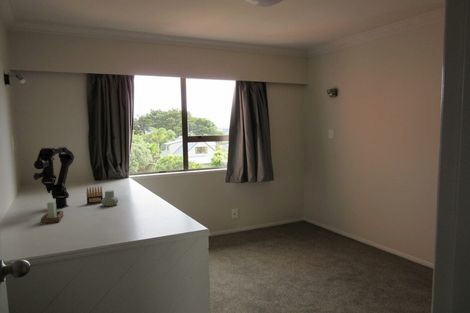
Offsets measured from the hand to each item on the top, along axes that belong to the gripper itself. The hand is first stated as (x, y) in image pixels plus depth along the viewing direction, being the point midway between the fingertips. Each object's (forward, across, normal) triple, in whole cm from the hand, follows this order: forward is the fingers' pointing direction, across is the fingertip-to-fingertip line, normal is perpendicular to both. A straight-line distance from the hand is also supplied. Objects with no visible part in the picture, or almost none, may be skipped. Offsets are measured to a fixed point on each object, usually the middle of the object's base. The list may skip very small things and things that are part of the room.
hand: (50, 191), depth 211 cm
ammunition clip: (+13, -14, +26) cm, 32 cm away
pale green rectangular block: (+12, +23, +3) cm, 26 cm away
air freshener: (+13, -2, +35) cm, 38 cm away
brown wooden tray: (+13, +23, +3) cm, 26 cm away
